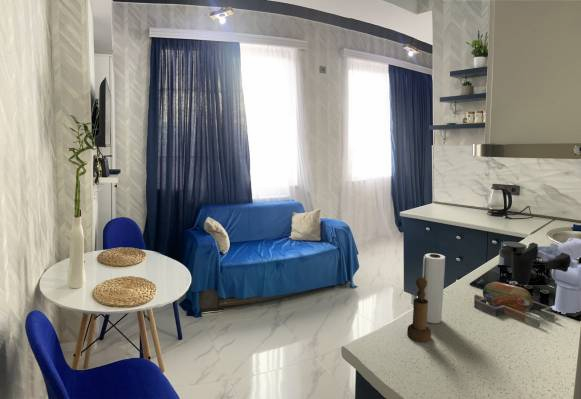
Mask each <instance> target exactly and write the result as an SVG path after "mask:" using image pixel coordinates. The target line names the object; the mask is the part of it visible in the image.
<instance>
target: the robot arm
mask: <svg viewBox="0 0 581 399" xmlns="http://www.w3.org/2000/svg"><path fill="white" fill-rule="evenodd" d="M537 257H539V258H540V259H542V260H543V261H544V262H545V263H544V269H546V270H551V277H552V279H553V280H554V283H555V284H556V290H555V301H554V305H552V306H550V307H552V311H554V312H556V311H557V313H559V312H561V313H560V314H562V315H565V314H566V313H576V312H580V311H581V263H579V260H577V259H580V258H581V238H577V237H569V238H568V239H567V240H566V241H565V242H561V243H554V242H552V243H550V244H549V245H539V244H538V243H535V242H531V243H530V242H529V245H527V248H526V250H525V251H524V252H522V253H521V259H524V260H525V259H533V261H537Z"/></svg>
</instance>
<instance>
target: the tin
mask: <svg viewBox="0 0 581 399" xmlns="http://www.w3.org/2000/svg"><path fill="white" fill-rule="evenodd" d="M482 297H484V298H487V301H486V304H488V305H491V306H493V307H499V306H502V305H505V306H507V307H510V308H512V309H515V310H517V311H520V312H522V313H525V314H526V313H527V312H529V311H528V310H529V309H530V308H531V307H532V305H533V301H534V298H533V296H532V294H531V293H530V292H529V290H527V289H526V288H524V287H521V286H516V285H512V284H507V283H503V282H498V281H492V282H490V283H487V284H486V285H485V286H484V287H483V289H482Z"/></svg>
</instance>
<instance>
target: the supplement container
mask: <svg viewBox="0 0 581 399" xmlns="http://www.w3.org/2000/svg"><path fill="white" fill-rule="evenodd" d="M527 248H528V245H526V244H524V243H522V242H518V241H502V242H501V243H500V249H499V250H498V251H499V252H498V253H499V254H498V256H499V257H498V265H507V266H509V268H512V259H511V254H512V253H514V252H524V251H525V250H526V249H527ZM498 265H497V266H498Z"/></svg>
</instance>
